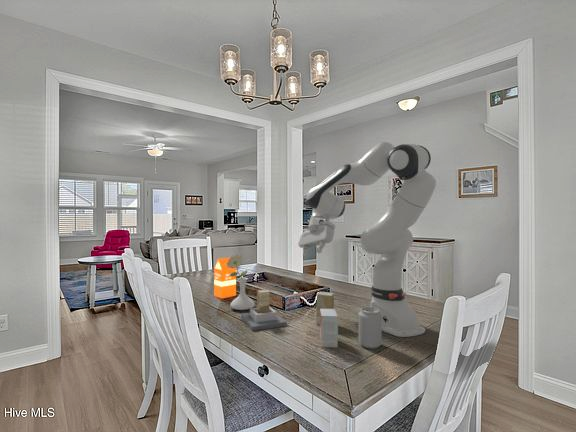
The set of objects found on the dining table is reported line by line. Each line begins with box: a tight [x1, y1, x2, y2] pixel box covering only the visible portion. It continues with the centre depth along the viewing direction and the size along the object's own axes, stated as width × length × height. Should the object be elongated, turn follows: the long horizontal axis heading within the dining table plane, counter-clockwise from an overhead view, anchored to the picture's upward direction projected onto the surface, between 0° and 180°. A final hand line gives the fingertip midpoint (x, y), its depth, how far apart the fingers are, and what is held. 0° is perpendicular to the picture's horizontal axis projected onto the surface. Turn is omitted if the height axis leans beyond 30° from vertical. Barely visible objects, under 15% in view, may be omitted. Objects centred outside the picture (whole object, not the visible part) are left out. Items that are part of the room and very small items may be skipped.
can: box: [358, 306, 383, 350], centre depth 105 cm, size 8×8×12 cm
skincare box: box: [315, 291, 335, 326], centre depth 125 cm, size 6×4×12 cm
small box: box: [318, 308, 339, 348], centre depth 107 cm, size 8×6×10 cm
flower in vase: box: [227, 254, 256, 311], centre depth 144 cm, size 13×11×25 cm
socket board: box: [240, 306, 288, 332], centre depth 127 cm, size 16×14×4 cm
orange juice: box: [213, 256, 237, 299], centre depth 166 cm, size 8×9×20 cm
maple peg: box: [256, 288, 271, 314], centre depth 127 cm, size 4×4×11 cm
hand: (311, 253), depth 139 cm, fingers open, 8 cm apart
